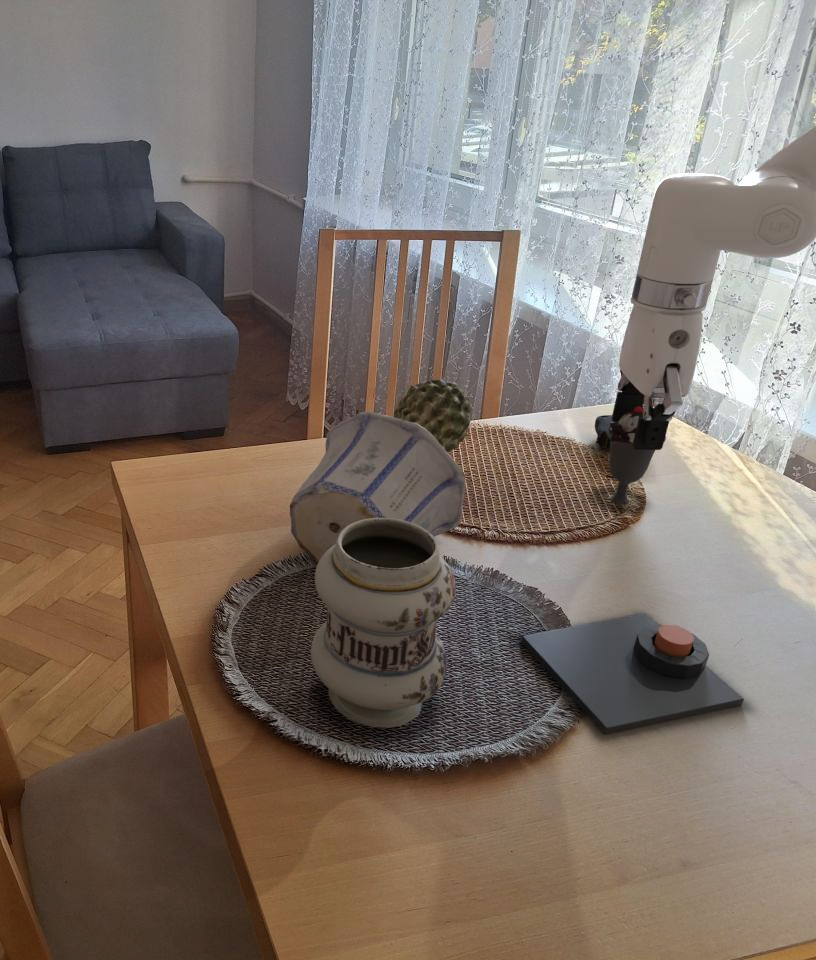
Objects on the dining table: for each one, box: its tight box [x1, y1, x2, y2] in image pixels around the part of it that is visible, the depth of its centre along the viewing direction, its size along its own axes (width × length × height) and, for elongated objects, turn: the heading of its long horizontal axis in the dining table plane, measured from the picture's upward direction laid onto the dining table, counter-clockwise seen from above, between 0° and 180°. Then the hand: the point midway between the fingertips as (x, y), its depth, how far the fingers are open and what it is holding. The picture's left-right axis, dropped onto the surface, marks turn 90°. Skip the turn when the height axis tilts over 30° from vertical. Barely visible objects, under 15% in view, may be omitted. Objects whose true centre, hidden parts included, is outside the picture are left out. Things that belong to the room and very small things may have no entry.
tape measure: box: [594, 414, 613, 450], centre depth 123 cm, size 7×7×4 cm
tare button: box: [654, 624, 694, 657], centre depth 81 cm, size 3×3×2 cm
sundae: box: [606, 398, 667, 506], centre depth 106 cm, size 7×7×15 cm
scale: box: [520, 612, 745, 736], centre depth 81 cm, size 14×13×3 cm
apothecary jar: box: [310, 518, 457, 729], centre depth 76 cm, size 12×12×18 cm
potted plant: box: [289, 378, 473, 564], centre depth 102 cm, size 18×18×30 cm
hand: (635, 433), depth 105 cm, fingers closed on sundae, 6 cm apart
